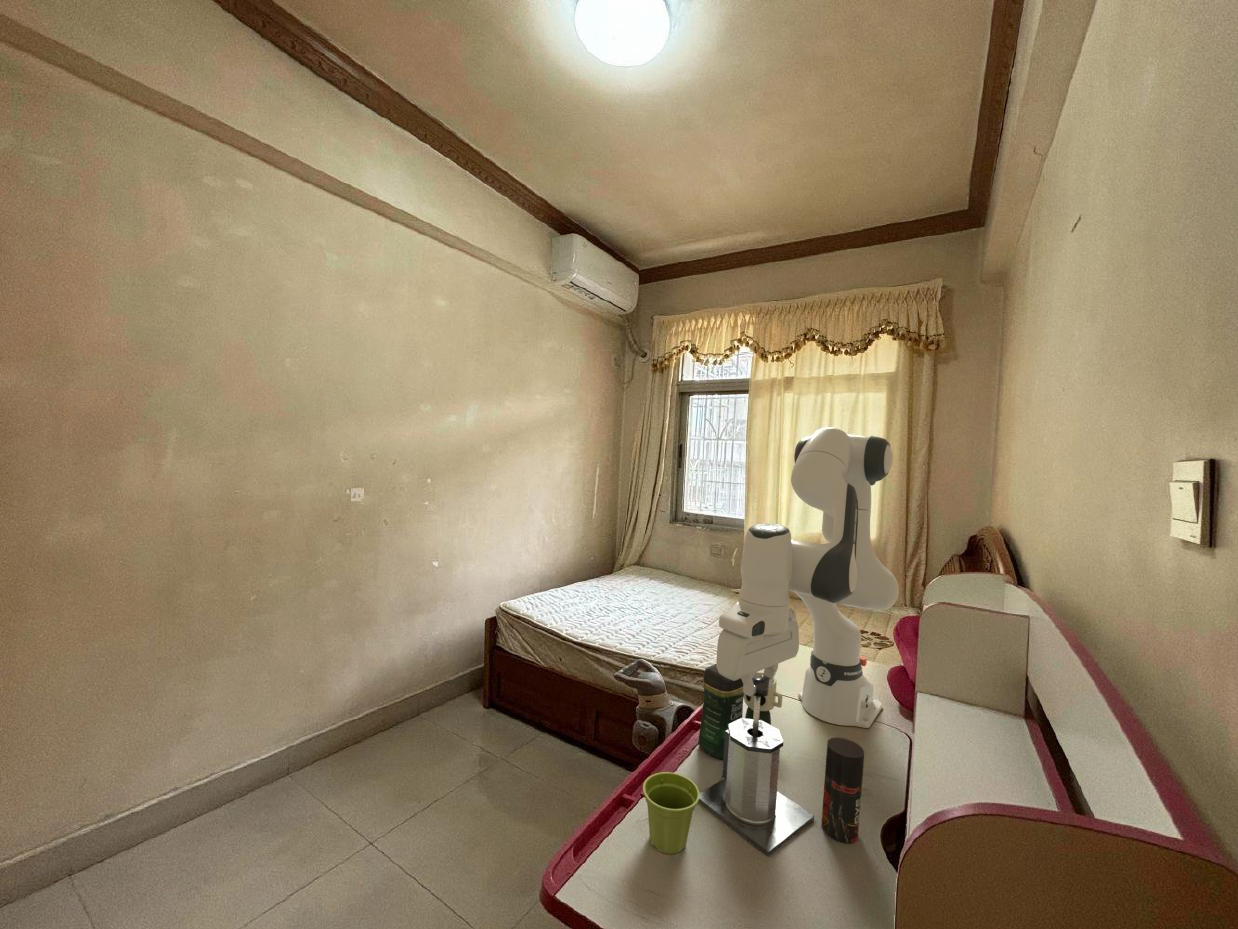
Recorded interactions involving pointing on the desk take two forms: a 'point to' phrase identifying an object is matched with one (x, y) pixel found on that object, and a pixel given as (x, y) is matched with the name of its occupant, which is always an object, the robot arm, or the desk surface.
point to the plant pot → (670, 809)
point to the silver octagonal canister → (754, 788)
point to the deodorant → (842, 790)
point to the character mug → (763, 703)
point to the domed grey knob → (761, 691)
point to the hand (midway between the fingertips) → (757, 690)
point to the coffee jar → (719, 710)
